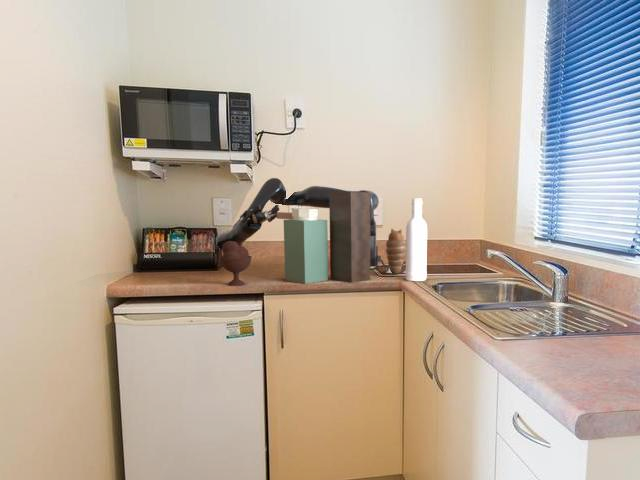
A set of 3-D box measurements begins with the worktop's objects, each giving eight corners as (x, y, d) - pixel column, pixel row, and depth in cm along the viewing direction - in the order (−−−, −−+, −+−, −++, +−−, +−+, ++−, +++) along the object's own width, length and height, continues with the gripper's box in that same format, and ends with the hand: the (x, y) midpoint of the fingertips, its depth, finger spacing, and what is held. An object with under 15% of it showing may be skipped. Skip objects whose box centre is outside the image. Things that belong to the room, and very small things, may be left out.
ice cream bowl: (232, 288, 170) (230, 242, 167) (213, 284, 176) (211, 240, 174) (259, 284, 178) (257, 240, 176) (240, 280, 185) (238, 239, 182)
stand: (349, 276, 198) (348, 192, 193) (370, 279, 191) (370, 192, 186) (330, 279, 190) (329, 192, 185) (351, 282, 183) (351, 192, 178)
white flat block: (288, 218, 197) (288, 207, 196) (323, 220, 185) (323, 208, 184) (269, 218, 190) (268, 207, 189) (303, 220, 178) (303, 209, 177)
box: (308, 277, 195) (307, 219, 192) (328, 280, 189) (327, 220, 185) (285, 280, 187) (283, 219, 183) (305, 283, 180) (303, 220, 177)
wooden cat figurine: (409, 274, 206) (410, 229, 203) (397, 276, 200) (397, 230, 197) (393, 271, 211) (393, 228, 209) (380, 273, 205) (380, 228, 203)
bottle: (416, 277, 197) (417, 198, 193) (430, 279, 192) (432, 198, 187) (400, 279, 192) (401, 198, 187) (415, 282, 186) (416, 198, 182)
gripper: (228, 218, 201) (249, 198, 191) (259, 218, 212) (280, 198, 202) (235, 235, 200) (256, 216, 190) (265, 234, 211) (287, 215, 201)
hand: (269, 207), depth 196 cm, fingers open, 8 cm apart
